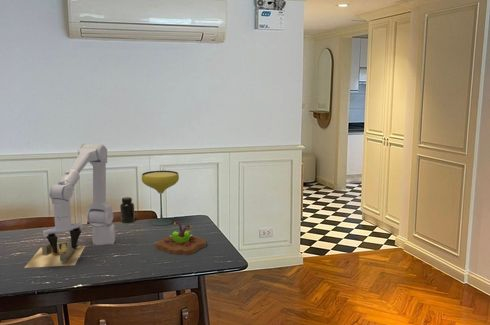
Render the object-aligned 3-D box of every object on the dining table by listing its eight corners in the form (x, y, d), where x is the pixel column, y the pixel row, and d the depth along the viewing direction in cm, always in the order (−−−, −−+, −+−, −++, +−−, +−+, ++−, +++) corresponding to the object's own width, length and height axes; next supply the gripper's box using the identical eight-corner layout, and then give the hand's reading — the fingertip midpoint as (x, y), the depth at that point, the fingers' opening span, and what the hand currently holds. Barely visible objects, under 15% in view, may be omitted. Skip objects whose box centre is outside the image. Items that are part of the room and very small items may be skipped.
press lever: (70, 245, 197) (69, 229, 196) (79, 244, 197) (78, 228, 196) (57, 261, 178) (56, 244, 177) (67, 261, 178) (66, 243, 177)
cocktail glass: (144, 229, 226) (143, 177, 222) (141, 219, 243) (140, 171, 239) (182, 226, 231) (181, 176, 227) (177, 216, 248) (175, 169, 244)
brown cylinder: (63, 251, 192) (63, 244, 191) (61, 255, 188) (60, 248, 187) (53, 252, 191) (52, 245, 191) (50, 255, 187) (50, 248, 187)
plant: (177, 237, 215) (176, 213, 213) (213, 244, 206) (212, 219, 204) (147, 250, 198) (147, 224, 196) (185, 258, 189) (185, 231, 187)
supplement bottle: (129, 218, 244) (128, 196, 242) (137, 220, 240) (136, 197, 238) (118, 221, 239) (117, 198, 237) (126, 223, 235) (125, 200, 233)
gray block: (56, 250, 193) (56, 241, 192) (46, 255, 187) (46, 245, 187) (52, 250, 194) (52, 240, 193) (42, 255, 188) (41, 245, 187)
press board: (85, 247, 200) (85, 245, 199) (74, 267, 178) (74, 265, 177) (40, 249, 197) (40, 247, 197) (24, 270, 175) (24, 267, 175)
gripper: (76, 210, 185) (78, 243, 187) (38, 217, 175) (41, 252, 177) (84, 213, 180) (86, 247, 182) (46, 221, 170) (49, 257, 172)
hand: (64, 250), depth 179 cm, fingers open, 7 cm apart
